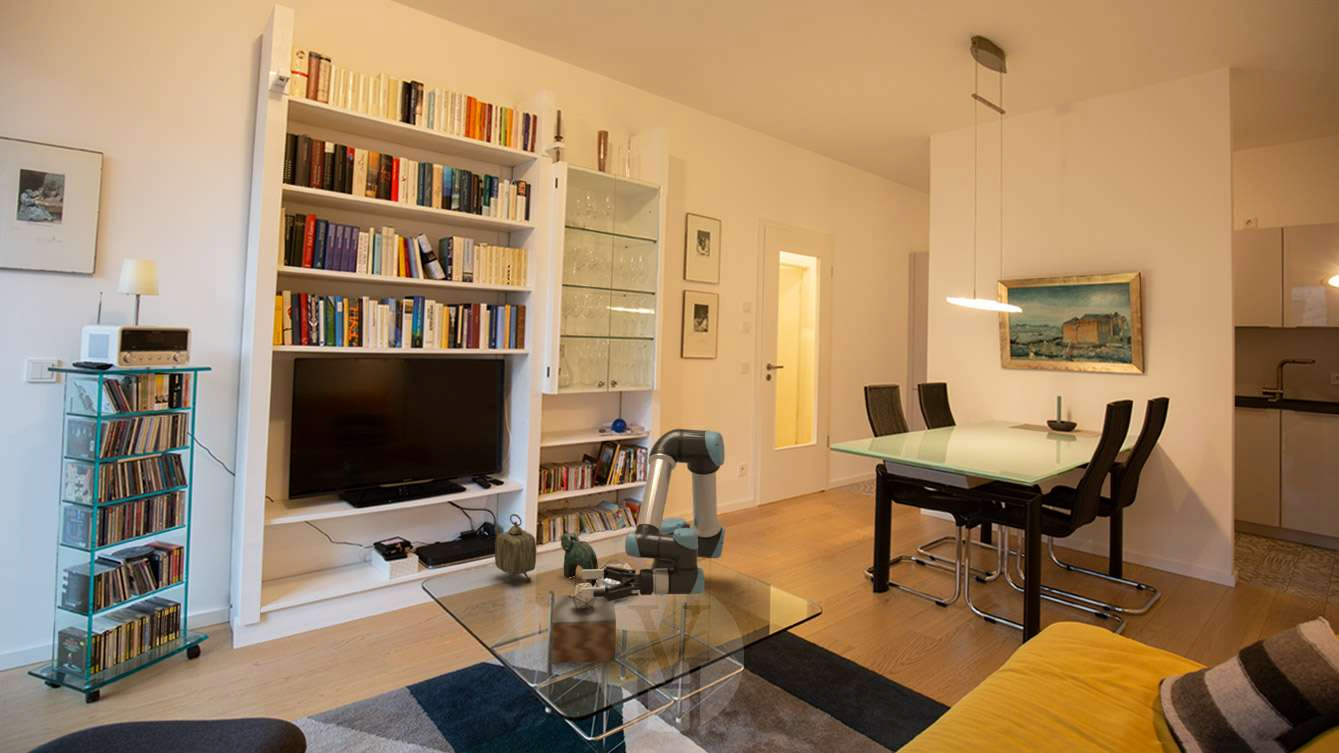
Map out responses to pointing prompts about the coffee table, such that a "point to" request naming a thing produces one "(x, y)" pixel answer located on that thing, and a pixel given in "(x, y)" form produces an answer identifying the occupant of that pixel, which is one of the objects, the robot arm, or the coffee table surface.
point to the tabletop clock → (515, 551)
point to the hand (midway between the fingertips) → (581, 583)
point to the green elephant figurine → (577, 555)
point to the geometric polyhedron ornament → (577, 596)
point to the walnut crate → (583, 631)
